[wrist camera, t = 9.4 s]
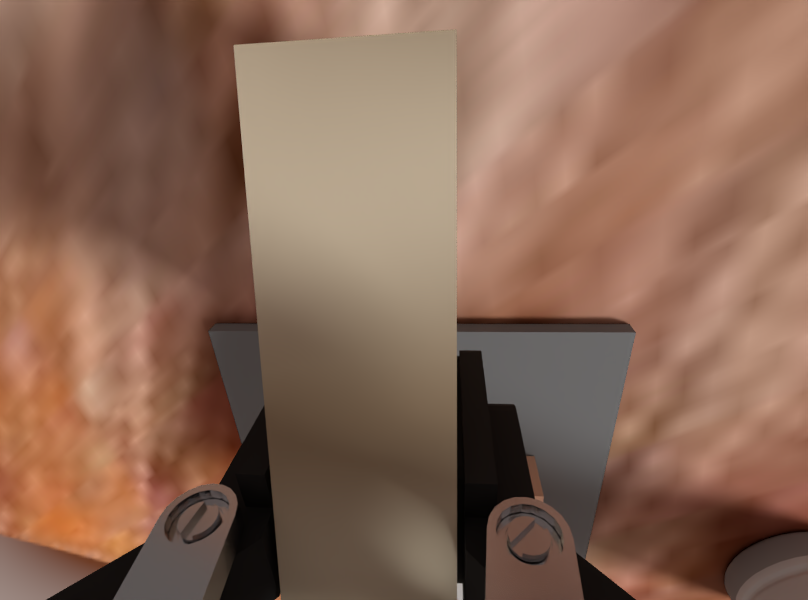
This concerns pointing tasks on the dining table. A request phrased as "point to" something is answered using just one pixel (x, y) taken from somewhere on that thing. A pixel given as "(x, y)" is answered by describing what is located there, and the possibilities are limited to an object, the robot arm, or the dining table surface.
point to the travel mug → (771, 570)
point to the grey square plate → (508, 397)
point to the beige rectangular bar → (357, 307)
